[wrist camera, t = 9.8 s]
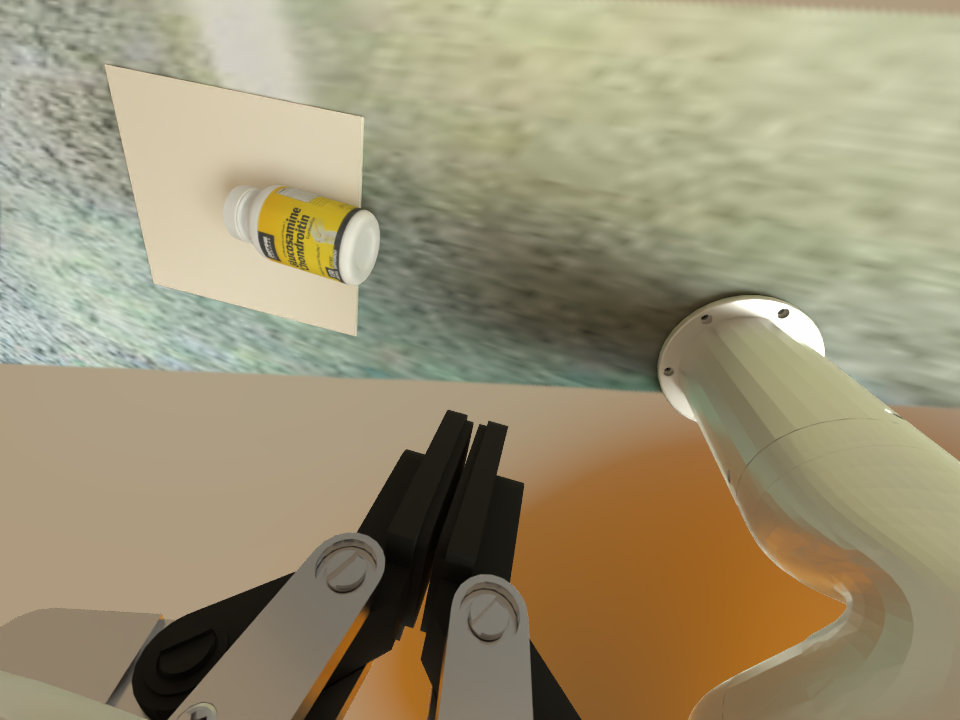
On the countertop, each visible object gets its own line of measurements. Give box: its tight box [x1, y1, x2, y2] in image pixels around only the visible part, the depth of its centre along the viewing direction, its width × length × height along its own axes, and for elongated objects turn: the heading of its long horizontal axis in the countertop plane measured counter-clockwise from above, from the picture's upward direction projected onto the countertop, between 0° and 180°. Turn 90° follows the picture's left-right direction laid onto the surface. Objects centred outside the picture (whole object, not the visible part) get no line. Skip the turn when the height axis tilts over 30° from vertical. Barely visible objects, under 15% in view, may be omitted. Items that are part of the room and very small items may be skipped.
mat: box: [104, 64, 364, 336], centre depth 38 cm, size 24×20×1 cm
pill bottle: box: [223, 185, 380, 285], centre depth 34 cm, size 6×6×12 cm
